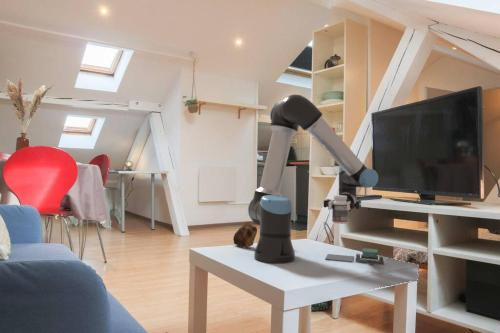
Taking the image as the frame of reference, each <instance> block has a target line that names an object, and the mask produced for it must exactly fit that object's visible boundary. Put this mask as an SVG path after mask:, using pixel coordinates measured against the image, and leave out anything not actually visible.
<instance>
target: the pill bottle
mask: <svg viewBox="0 0 500 333" xmlns="http://www.w3.org/2000/svg"><path fill="white" fill-rule="evenodd" d="M333 200H335V201H334V202H333V204H332V209H331V210H332V211H331V212H332V214H331V216H332V219H331V220H332V223H334V224H341V225H342V224H344V225H345V224H348V223H349V211H348V210H347V202H346V200H347V196H341V195H339V194H337V195H333Z"/></svg>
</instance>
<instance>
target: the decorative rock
mask: <svg viewBox="0 0 500 333" xmlns="http://www.w3.org/2000/svg"><path fill="white" fill-rule="evenodd" d="M257 233H258V228H257V226H254V225H253V224H251V222H250V221H249V222H248V221H247V222H245V223H244V225H242V226H241V227H239V229H238V230H237V231H236V232H235V233H234V235H233V239H232V240H233V244H234V245H237V246H238V247H244V248H249V247H252V246H254V242H255V239H256V236H257Z"/></svg>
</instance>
